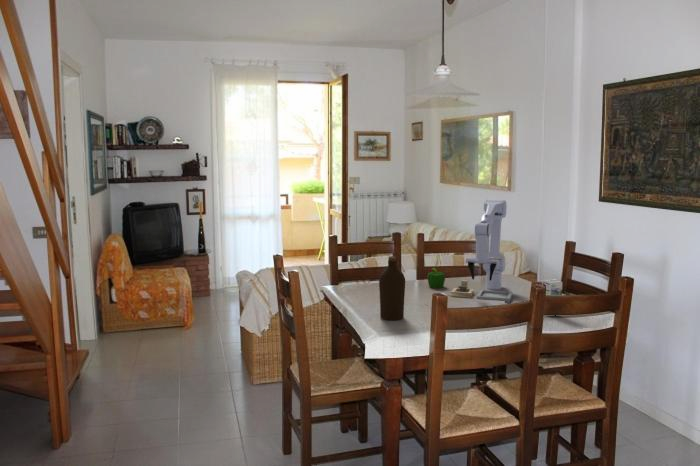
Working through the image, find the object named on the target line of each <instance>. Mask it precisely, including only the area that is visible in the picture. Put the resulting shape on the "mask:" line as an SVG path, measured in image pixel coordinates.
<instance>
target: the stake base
mask: <svg viewBox="0 0 700 466" xmlns="http://www.w3.org/2000/svg"><path fill="white" fill-rule="evenodd" d="M457 288H460V292H465V289H466V288H467V289H468V286H461V285H458V287H457ZM478 293H479V292H478V291H474V293H473V295H472V296H471V298H472V299H474V298H475V297H477V295H478ZM447 297H452V296H451V292H450V293H449V294H448V295H447ZM454 297H456V296H454ZM468 298H469V299H471V298H470V297H467V299H468Z"/></svg>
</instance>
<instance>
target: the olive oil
mask: <svg viewBox="0 0 700 466" xmlns="http://www.w3.org/2000/svg"><path fill="white" fill-rule="evenodd" d="M378 284H379V286H378V287H379V288H378V289H379V310H380V312H379V314H380V319H382V320H385V321H401V320H403V319H404V313H405V295H406V294H405V291H406V278H405V275H404V273H403V272H402V271H401V270H400V269H399V268H398V266H397V257H396V256H395V255H394V256H392V255H391V256H388V260H387V267H386V268H385V269H384V270H383V271H382V272H381V274H380V275H379V279H378Z"/></svg>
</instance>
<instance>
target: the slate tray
mask: <svg viewBox="0 0 700 466" xmlns="http://www.w3.org/2000/svg"><path fill="white" fill-rule="evenodd" d="M483 293H484V294H485V293H486V294H488V293H489V294H501V295H507V296H506V297H504V296H503V297H500V296H489V295H488V296H486V295H483ZM512 298H513V291H509V290H508V291H505V290H492V289H480V290H479V292H478V293H477V294H476V299H477V300H478V299H479V300H491V301H492V300H493V301H504V303H506V304H510V302H511V299H512Z"/></svg>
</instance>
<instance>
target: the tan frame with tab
mask: <svg viewBox="0 0 700 466" xmlns="http://www.w3.org/2000/svg"><path fill="white" fill-rule="evenodd" d="M460 283H461V285H460V286H467V288H466V289H465V292H460V288H458V287H454V288H453V289H452V290H451V291H450V293H451V296H450V297H455V296H456V297H457V298H458V297H459V298H468V297H470V298H469V299H471V296H472V295H473V293H474V292H475V291H474V288H468V283H469V282H468V280H466V279H461V282H460Z"/></svg>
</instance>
